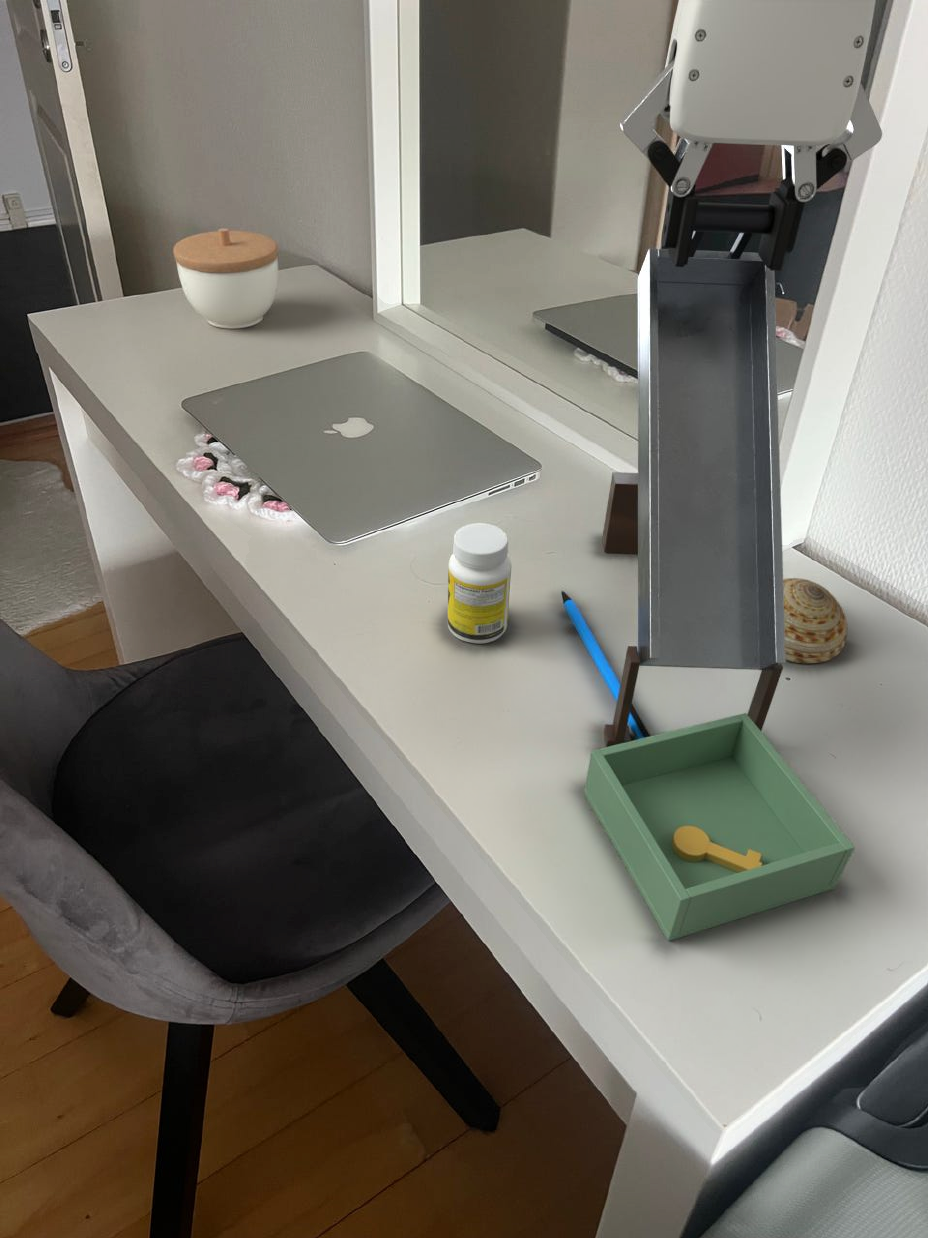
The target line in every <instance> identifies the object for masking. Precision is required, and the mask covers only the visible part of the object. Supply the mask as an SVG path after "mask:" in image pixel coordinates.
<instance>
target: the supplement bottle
mask: <svg viewBox="0 0 928 1238" xmlns="http://www.w3.org/2000/svg"><path fill="white" fill-rule="evenodd" d="M452 552H453V553H452V554H451V556H450V558H449V559H448V575H447V577H448V578H447V627H448V630H449V631H450V633H451V634H452V635H453V636H454V637H455V638H457V639H458V640H461V641H463V642H466V643H471V644H480V645H481V644H488V643H492V642H494V641H497V640H498V639H499V638H501V637H502V636H503V635H504V634H505V632H506V630H507V628H508V620H509V605H510V591H511V590H510V589H511V579H512V578H511V577H512V561H511V559H510V556H509V555H508V554H509V537H508V535H507V533H506V532H505V531H504V529H502V528H500V527H499V526H497V525H493V524H491V523H490V524H489V523H484V522H483V523H482V522H475V523H469V524H466V525H463V526H462V527H460V528H458V529H457V530H456V532H455V533H454V536H453V546H452Z"/></svg>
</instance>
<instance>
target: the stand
mask: <svg viewBox="0 0 928 1238" xmlns="http://www.w3.org/2000/svg"><path fill="white" fill-rule="evenodd" d="M606 506H607V507H606V512H605V519H604V524H603V531H602V536H601V537H602V538H601V540H602V541H601V542H602V548H603V552H604V553H605V554H632V555H633V554H636V555H638V472H623V471H613V472H612V473H611V480H610V484H609V492H608V499H607V505H606ZM640 667H641V666H640V659H639V654H638V645H628V646H627V649H626V654H625V659H624V664H623V669H622V674H621V679H620V689H619V694H618V699H617V703H616V705H615V709H614V715H613V721H612V724H609V723H608V724H605V725H604V729H603V737H604V743H605V748H606V747H610V746H614V745H618V744H622V743H626V742H630V741H632V740H631V739H632V738H631V733H630V726H629V724H628V719H629V714H630V709H631V704H633V699H634V694H635V690H636V683H637V679H638V675H639V671H640ZM783 670H784V664H781V665H778V666H776V667H773V668H770V669H767V670H760V671H761V672H760V675H759V678H758V681H757V684H756V687H755V690H754V693H753V696H752V700H751V701H750V702H751V703H750V705H749V708H748V712H747V713H746V714H747V715H748V716H749V717H750V719H751V720H752V721H753V722H754V724H755V725H756V726H757V727H758V728H759V730H760V731H761V732H762V730H763V727H764V725H765V723H766V719H767V716H768V713H769V711H770V708H771V704H772V702H773V699H774V696H775V693H776V690H777V687H778V684H779V682H780V678H781V677H782V676H781V675H782V672H783Z"/></svg>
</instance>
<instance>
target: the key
mask: <svg viewBox="0 0 928 1238" xmlns="http://www.w3.org/2000/svg"><path fill="white" fill-rule="evenodd" d="M672 848H673V850H674V852H675V853H676V854H677V855H678V856H679V857H680V858H682V859H683V860H686V861H689V862H698V861H701V860H703V859H706V860H709V861H711V862H713V863H716V864H718V865H721V866H723V867H726V868H728V869H730V870H733V871H735V872H738V873H740V872H743V871H746V870H750V869H753V868H756V867H760V866H762V865H763V864H762V862H760V859H761V856H762V854H760V853H758V852H755V851H753V850H750V849H749V850H748V852H747V855H746V856H744V855H742V854H739V853H737V852H734V851H732V850H729V849H727V848H724V847H722V846H719V845H717V844H714V843H712V842H710V840H709V837H708V836H707V834H706V833H705V832H704V831H702V830H701V829H699V828H697V827H694V826H683V827H680V828H679V829H677V830H676V832H675V833H674V836H673V840H672Z"/></svg>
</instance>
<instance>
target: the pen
mask: <svg viewBox="0 0 928 1238" xmlns="http://www.w3.org/2000/svg"><path fill="white" fill-rule="evenodd" d="M560 594H561V598H562V603H563V607H564V609H565V612H566V613H567V615H568V616H569V618H570V620H571V622H572V624H573V626H574V627H575V630H576V631H577V633H578V635H579V636H580V638H581V640H582V642H583V644H584V646H585V648H586V649H587V651H588V653H589V655H590V656H591V658H592V660H593V663H594V664H595V666H596V668H597V669H598V671H599V673H600V675H601V677H602V679H603V681H604V682H605V684H606V686H607V688H608V690H609V691H610V693H611V695H612V697H613V699H614V701H615V703H616V704H617V699H618V694H619V689H620V684H621V681H620V680H619V678H618V677H617V675H616V673H615V671H614V670H613V668H612V667H611V665H610V663H609V661H608V659H607V658H606V656H605V654H604V652H603V650H602V648H601V647H600V646H599V643H598V641H597V639H596V637H595V636H594V634H593V632H592V631H591V629H590V627H589V625H588V624H587V622H586V620H585V617H584V616H583V615H582V613H581V612H580V609H579V607H578V606H577V604H576V603H575V601H574V600H573V599H572V598H571V597H570V596H569V595H568V594H567V593H566V592H565V591H563V590H561V592H560ZM627 725H628V727H629V729H630V730H631V732H632V734H633V735H634V737H635V740H638V739H642V738H646V737H650V736H651V735H650V732H649V731H648V729H647V727H646V725H645V724H644V722H643V720H642V719H641V717H640V714H639V712H638V711H637V709H636V707H635V706H634V704H633V703H632V704H631V709H630V714H629V719H628V723H627Z"/></svg>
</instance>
